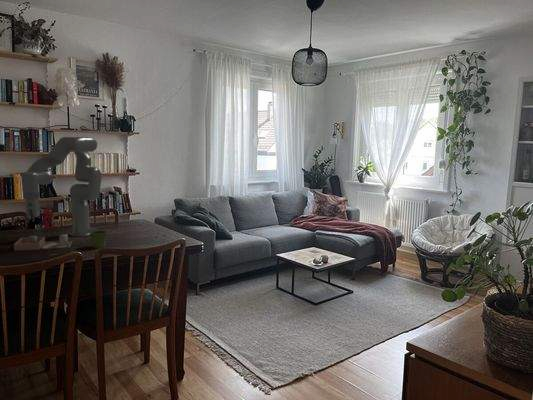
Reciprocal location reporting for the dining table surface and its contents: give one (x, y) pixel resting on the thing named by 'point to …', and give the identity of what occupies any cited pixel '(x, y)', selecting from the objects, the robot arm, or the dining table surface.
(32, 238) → the pebble dark
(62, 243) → the pebble grey
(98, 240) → the plant pot
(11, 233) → the dining table surface
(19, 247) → the brown shallow rectangular tray
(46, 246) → the birch tray
